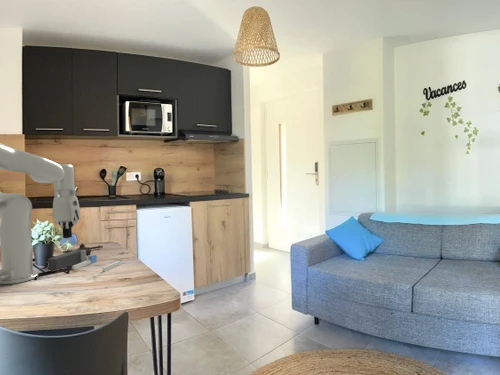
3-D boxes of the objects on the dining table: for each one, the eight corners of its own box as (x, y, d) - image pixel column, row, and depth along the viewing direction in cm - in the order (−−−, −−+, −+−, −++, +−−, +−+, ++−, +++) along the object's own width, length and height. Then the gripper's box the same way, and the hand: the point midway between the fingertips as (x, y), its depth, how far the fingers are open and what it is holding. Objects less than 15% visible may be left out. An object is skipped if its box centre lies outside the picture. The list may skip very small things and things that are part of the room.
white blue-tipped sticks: (104, 271, 135) (104, 264, 135) (43, 267, 142) (43, 260, 142) (124, 262, 147) (123, 255, 147) (66, 259, 154) (66, 253, 154)
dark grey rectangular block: (57, 271, 136) (57, 259, 136) (47, 271, 137) (46, 258, 137) (86, 260, 152) (86, 249, 151) (77, 260, 153) (76, 249, 153)
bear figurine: (65, 253, 156) (61, 244, 168) (65, 262, 157) (61, 252, 169) (107, 247, 166) (100, 239, 178) (107, 255, 167) (101, 247, 179)
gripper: (86, 193, 145) (89, 236, 146) (57, 193, 149) (59, 235, 150) (73, 194, 138) (76, 240, 139) (42, 194, 142) (45, 239, 143)
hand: (67, 237), depth 145 cm, fingers closed
